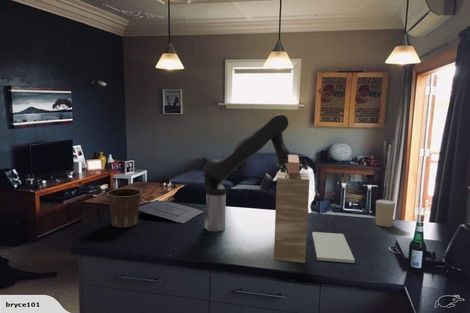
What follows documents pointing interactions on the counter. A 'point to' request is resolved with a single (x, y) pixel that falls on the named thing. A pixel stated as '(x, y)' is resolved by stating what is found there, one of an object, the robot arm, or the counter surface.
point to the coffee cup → (384, 212)
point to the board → (332, 247)
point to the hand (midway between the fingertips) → (293, 157)
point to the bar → (293, 164)
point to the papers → (170, 210)
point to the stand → (291, 216)
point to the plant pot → (124, 207)
